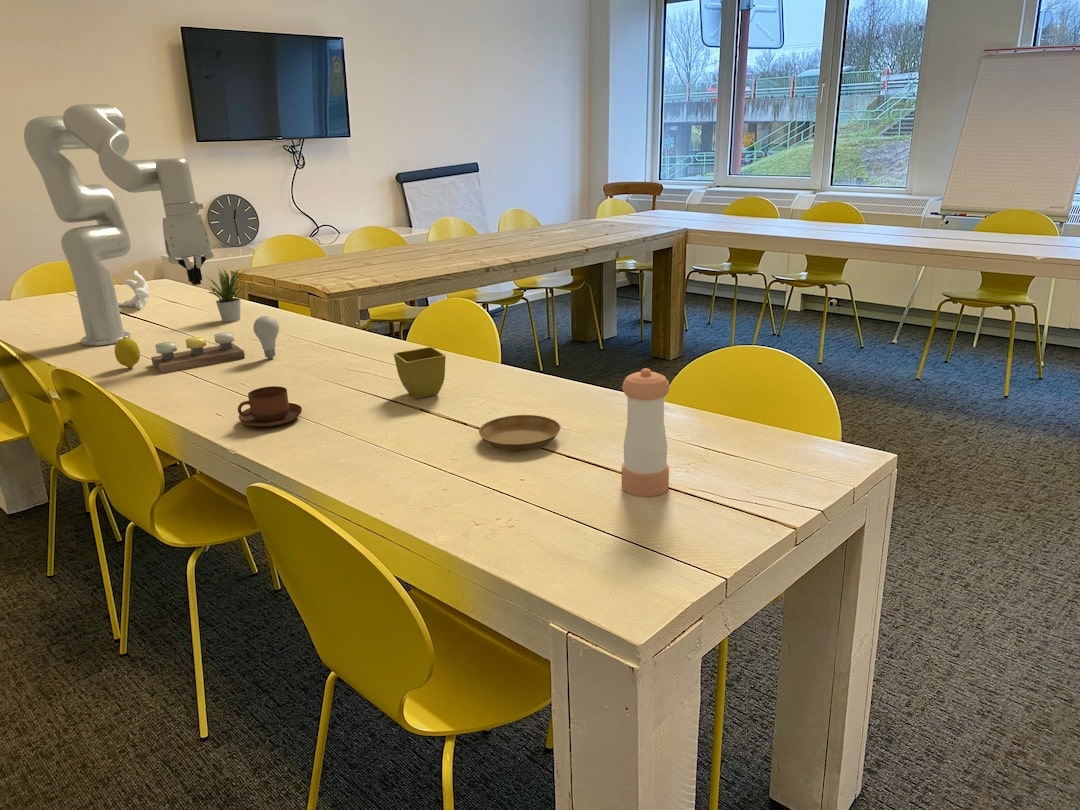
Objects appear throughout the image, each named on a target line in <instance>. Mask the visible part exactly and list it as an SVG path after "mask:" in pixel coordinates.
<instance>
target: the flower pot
mask: <svg viewBox="0 0 1080 810" xmlns="http://www.w3.org/2000/svg"><path fill="white" fill-rule="evenodd" d="M446 356H447V355H446V354H444V353H443V352H441V351H439V350H438V349H436V348H435V347H432V346H427V347H421V348H416V349H412V350H411V349H410V350H405V351H399V352H398V351H397V352H394V353H393V358H394V362H395V366H396V369H397V375H398V377H399V380H400V382H401V384H402V386H403V387H404V389H405V390H406V391H407V393H408V394H410V395H411V397H413V399H421V398H425V397H426V398H427V397H431V396H436V395H438V394H439V393H440V391H441V389H442V387H443V385H444V382H445V375H446Z"/></svg>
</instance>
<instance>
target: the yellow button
mask: <svg viewBox="0 0 1080 810" xmlns="http://www.w3.org/2000/svg"><path fill="white" fill-rule="evenodd" d="M184 342H185V345H186V348H187V349H190V350H191V353H192V356H197V355H202V354H204V351H203V348H205V347H206V346H207V342H206V338H205V336H194V337H190V338H186V339H185V341H184Z"/></svg>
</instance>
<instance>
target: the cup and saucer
mask: <svg viewBox="0 0 1080 810" xmlns="http://www.w3.org/2000/svg"><path fill="white" fill-rule="evenodd" d="M247 397H248V400H245V401H242V402H240V404H239V405H238V407H237V413H238V414H239V415H238V420H239V421H240V422H241V423H242V424H243V425H246V426H250V427H254V428H268V427H269V428H271V427H276V426H280V425H284V424H287V423H291V422H292V421H294V420H296V419H297V418H298V417H299V416H300V415H301V414H302V410H303V409H302V406H301V405H299V404H297V403H293V402H289V397H288V389H287V388H286V387H283V386H279V385H278V386H277V385H276V386H264V387H259V388H256V389H253V390H251V391H250V392H248V394H247ZM245 405H246V406H247V405H249V408H246V409H245V410H243V411H242V408H243V406H245Z"/></svg>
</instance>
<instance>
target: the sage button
mask: <svg viewBox="0 0 1080 810" xmlns="http://www.w3.org/2000/svg"><path fill="white" fill-rule="evenodd" d="M155 351H156V353H157V354H160V356H161V355H162V361H168V360H174V353H176V351H178V348H177V344H176V342H175V341H165V342H159V343H157V344H155Z"/></svg>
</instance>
